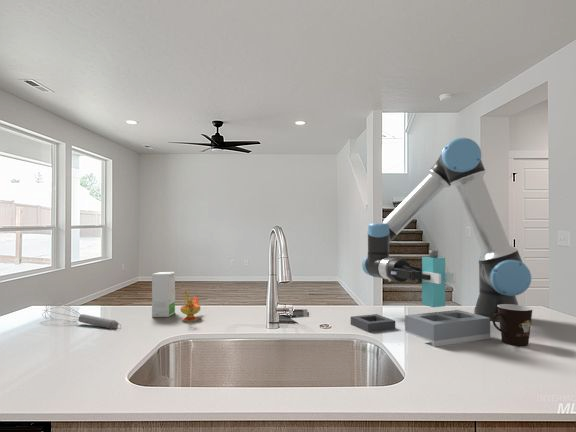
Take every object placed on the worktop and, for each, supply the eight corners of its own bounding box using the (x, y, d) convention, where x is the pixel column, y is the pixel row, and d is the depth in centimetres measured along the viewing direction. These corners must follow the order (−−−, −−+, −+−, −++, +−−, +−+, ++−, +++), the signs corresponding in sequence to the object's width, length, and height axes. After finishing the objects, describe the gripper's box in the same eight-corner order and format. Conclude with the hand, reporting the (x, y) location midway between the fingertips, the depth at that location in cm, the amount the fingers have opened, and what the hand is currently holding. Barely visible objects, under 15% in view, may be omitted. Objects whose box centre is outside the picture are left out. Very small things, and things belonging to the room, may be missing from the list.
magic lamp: (206, 312, 148) (207, 283, 149) (194, 324, 130) (195, 291, 131) (188, 312, 149) (189, 283, 149) (174, 324, 131) (174, 291, 131)
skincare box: (168, 317, 140) (169, 274, 141) (150, 317, 140) (150, 273, 141) (175, 312, 149) (175, 271, 149) (158, 312, 149) (158, 271, 149)
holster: (376, 324, 131) (376, 314, 131) (395, 332, 121) (395, 320, 122) (350, 327, 127) (350, 316, 127) (367, 335, 118) (367, 323, 118)
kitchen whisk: (113, 332, 122) (113, 311, 122) (37, 323, 134) (37, 304, 134) (128, 327, 128) (128, 308, 128) (53, 319, 140) (53, 301, 140)
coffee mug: (523, 339, 114) (523, 304, 115) (539, 348, 106) (538, 310, 106) (481, 337, 115) (481, 303, 116) (494, 346, 107) (493, 309, 107)
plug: (434, 303, 118) (434, 250, 118) (445, 306, 114) (445, 251, 114) (422, 304, 116) (422, 250, 117) (432, 307, 112) (432, 251, 112)
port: (458, 328, 126) (458, 309, 126) (490, 338, 115) (490, 317, 115) (405, 335, 118) (405, 315, 118) (433, 346, 107) (433, 324, 107)
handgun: (272, 312, 151) (268, 324, 133) (272, 307, 151) (268, 318, 133) (307, 313, 150) (307, 325, 132) (307, 308, 150) (307, 319, 132)
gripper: (416, 279, 135) (470, 290, 113) (373, 282, 128) (422, 293, 107) (416, 257, 135) (470, 264, 114) (373, 259, 129) (422, 266, 107)
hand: (447, 278), depth 110 cm, fingers closed on plug, 4 cm apart
